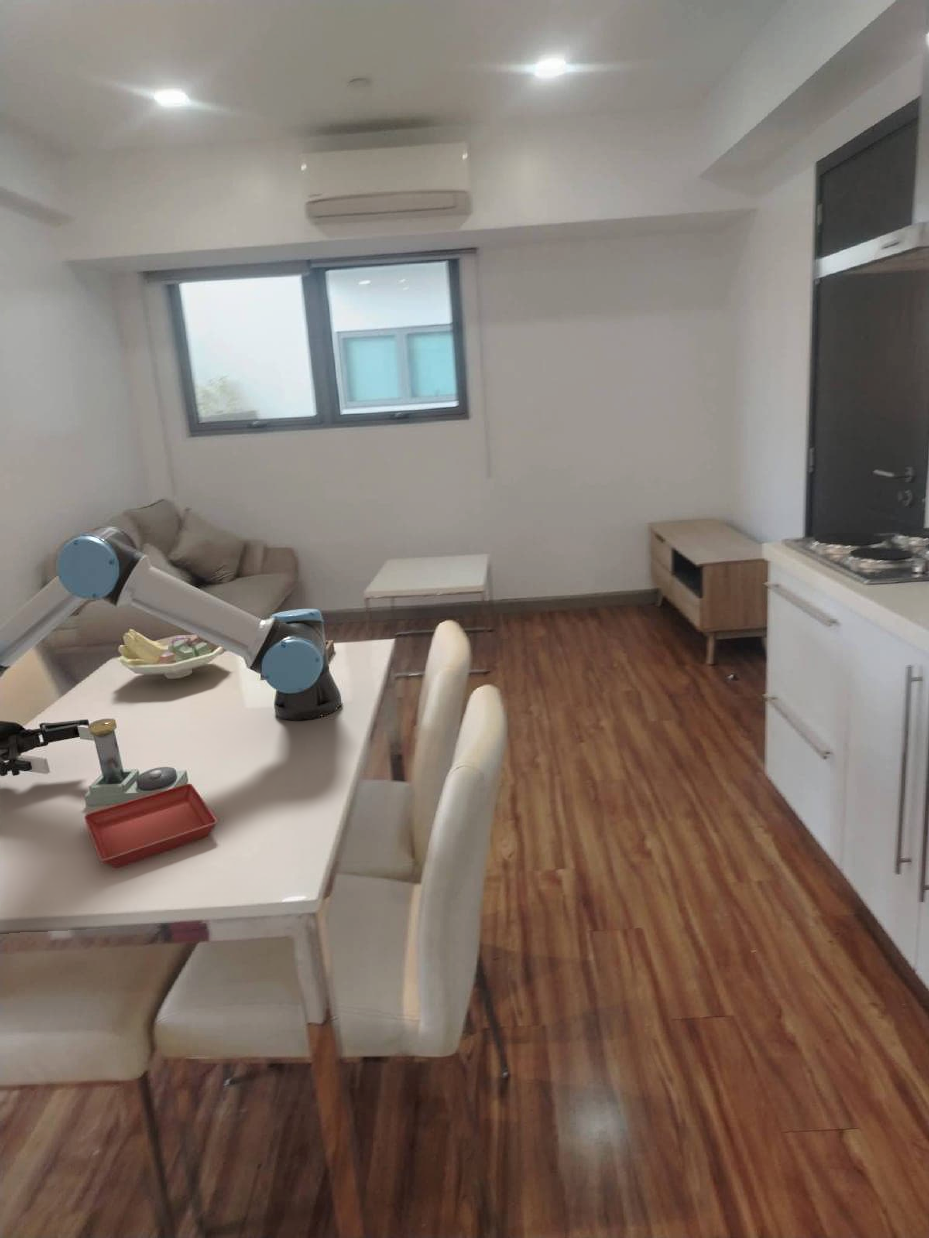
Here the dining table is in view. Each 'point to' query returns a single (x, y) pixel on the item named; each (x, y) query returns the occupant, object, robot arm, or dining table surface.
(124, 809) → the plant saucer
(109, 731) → the pin
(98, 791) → the base
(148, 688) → the dining table surface
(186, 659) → the dish with food
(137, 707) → the dining table surface
